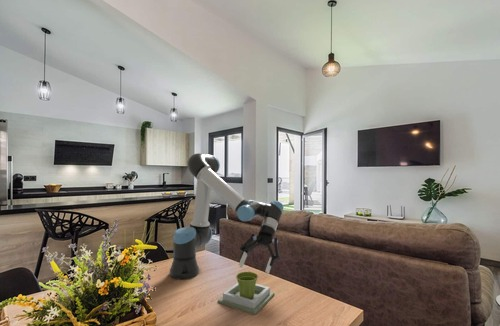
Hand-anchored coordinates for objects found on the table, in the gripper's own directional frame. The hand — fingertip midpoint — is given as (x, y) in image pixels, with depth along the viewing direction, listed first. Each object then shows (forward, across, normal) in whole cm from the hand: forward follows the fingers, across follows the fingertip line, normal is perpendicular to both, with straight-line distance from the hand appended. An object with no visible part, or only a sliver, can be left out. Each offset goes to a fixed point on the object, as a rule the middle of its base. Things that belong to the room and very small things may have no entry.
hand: (253, 269), depth 115 cm
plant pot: (+10, +1, -4) cm, 11 cm away
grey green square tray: (+11, +1, -5) cm, 12 cm away
